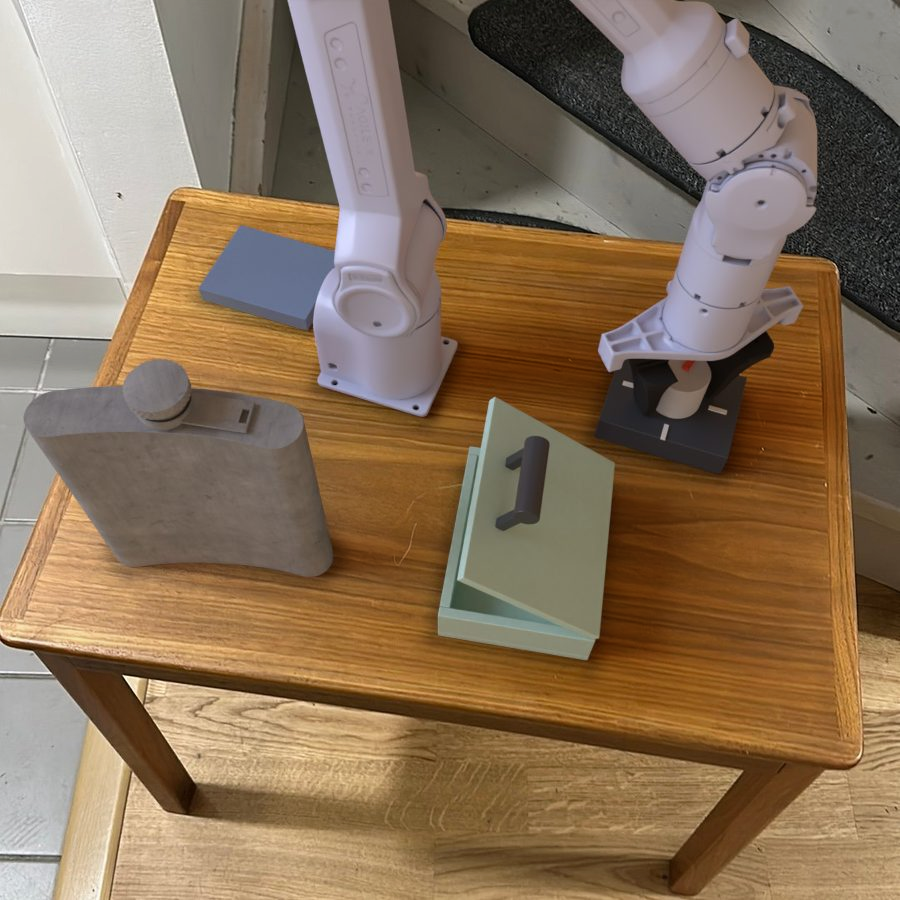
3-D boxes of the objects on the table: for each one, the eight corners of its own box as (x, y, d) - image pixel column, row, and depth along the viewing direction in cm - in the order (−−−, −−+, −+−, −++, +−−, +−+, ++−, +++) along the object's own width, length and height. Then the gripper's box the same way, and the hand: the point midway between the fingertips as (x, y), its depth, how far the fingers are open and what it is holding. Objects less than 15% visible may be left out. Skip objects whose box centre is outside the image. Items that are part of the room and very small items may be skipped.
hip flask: (110, 566, 66) (-3, 410, 49) (123, 516, 69) (20, 349, 52) (330, 578, 66) (293, 425, 49) (337, 527, 68) (304, 364, 51)
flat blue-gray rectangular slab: (201, 300, 80) (197, 288, 78) (243, 236, 84) (240, 224, 82) (307, 331, 78) (305, 319, 77) (345, 265, 82) (343, 253, 81)
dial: (687, 427, 70) (699, 399, 67) (639, 404, 71) (649, 374, 68) (708, 391, 72) (721, 361, 69) (661, 369, 73) (672, 339, 70)
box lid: (456, 580, 55) (498, 561, 52) (488, 400, 62) (528, 373, 59) (592, 640, 60) (639, 626, 57) (608, 466, 67) (651, 444, 64)
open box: (437, 635, 64) (437, 615, 61) (468, 471, 71) (469, 445, 68) (587, 660, 63) (595, 641, 60) (603, 492, 70) (611, 467, 67)
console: (593, 438, 73) (598, 419, 70) (619, 360, 77) (624, 340, 74) (719, 476, 71) (728, 458, 69) (738, 394, 75) (748, 374, 73)
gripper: (789, 209, 63) (735, 335, 75) (593, 256, 61) (568, 379, 72) (843, 284, 60) (777, 403, 71) (637, 337, 57) (604, 452, 69)
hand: (674, 396), depth 71 cm, fingers open, 5 cm apart
